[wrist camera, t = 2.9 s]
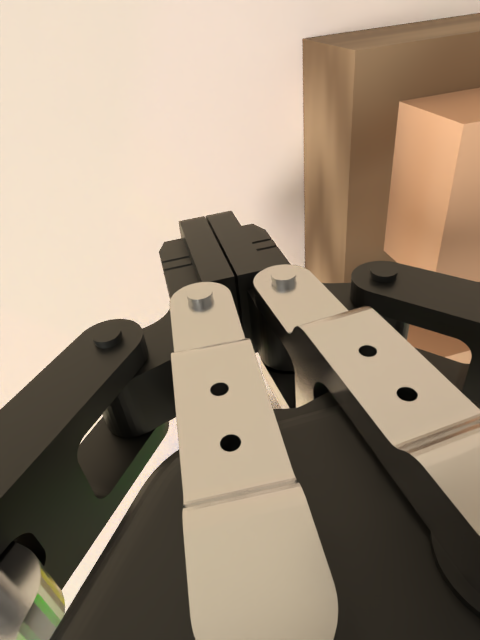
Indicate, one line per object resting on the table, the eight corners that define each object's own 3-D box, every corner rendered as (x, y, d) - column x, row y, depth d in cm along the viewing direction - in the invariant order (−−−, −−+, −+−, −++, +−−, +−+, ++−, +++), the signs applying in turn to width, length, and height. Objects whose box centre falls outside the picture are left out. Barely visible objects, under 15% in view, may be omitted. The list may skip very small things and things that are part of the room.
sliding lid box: (302, 38, 16) (355, 50, 12) (644, -11, 18) (765, -12, 14) (306, 375, 25) (336, 430, 22) (527, 318, 27) (583, 361, 24)
